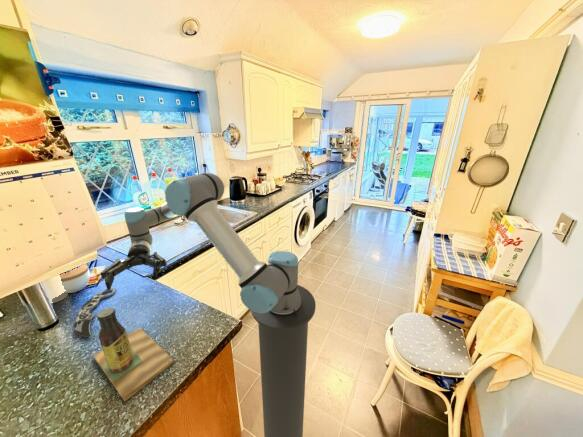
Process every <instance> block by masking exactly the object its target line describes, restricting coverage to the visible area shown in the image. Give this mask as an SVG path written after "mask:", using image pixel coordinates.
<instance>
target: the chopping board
mask: <svg viewBox="0 0 583 437" xmlns="http://www.w3.org/2000/svg"><path fill="white" fill-rule="evenodd" d="M127 336H128V340H129V343H130V346H131V350H132V353H133V361H132V363H131V364H130V366H129V367H128V368H126V369H125V370H123V371H121V372H117V373H114V372H111V371H110V368H109V367H108V365H107V362H106V359H105V356H104V353H103V350H102V349H101V350H100V351H98V352H97V353H95V354H94V355H93V358H94V360H95V362H96V363H97V365H98V366H99V367H100V369H101V370H102V372H103V373H104V375H105V376H106V378H107V379H108V380H109V382H110V383H111V384H112V386H113V388H114V389H115V390H116V392H117V393H118V395H119V397H121V399H122V400H123V402H126V401H128V400H129V399H131V398H132V397H133V396H134V395H135V394H137V393H138V392H140V390H142V389H143V388H144V387H146V386H147V385H148V384H149V383H151V382H152V381H153V380H154V379H155V378H157V377H158V376H159V375H160V374H162V373H163V372H164V371H165V370H167V369H168V368H169V367H171V366H172V365H173V364H174V359H173V358H172V357H171V356H170V355H169V354H168V353H167V352H166V351H165V350H164V349H163V348H162V347H161V346H160V345H159V344H158V343H157V342H156V341H155V340H154V339H153V338H152V337H151V336H150V335H149V334H147V333H146V331H145V330H144V329H143V328H141V327H138V328H136V329H135V330H133V331H131V332H130V333H128V334H127Z"/></svg>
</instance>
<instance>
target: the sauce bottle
mask: <svg viewBox="0 0 583 437" xmlns="http://www.w3.org/2000/svg"><path fill="white" fill-rule="evenodd" d="M96 319H97V321H99V324H100V330H99V333H98V339H99V343H100V347H101V351H102V350H103V353H104V356H105V359H106V362H107V365H108V367H109V368H110V371H111V372H114V373H117V372H121V371H123V370H125V369H126V368H128V367H129V366H130V364H131V363H132V361H133V353H132V350H131V346H130V343H129V340H128V336H127V335H128V334H127V330H126V328H125V327H124V326H123V325H122V324H121V323H120V322H119V321H118V319H117V315H116V310H115V308H114V307H106V308H103V309H101V310H99V311H98V312H97V314H96Z"/></svg>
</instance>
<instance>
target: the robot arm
mask: <svg viewBox="0 0 583 437" xmlns="http://www.w3.org/2000/svg"><path fill="white" fill-rule="evenodd" d="M224 194H225V185H224V182H223V180H222V179H221V178H220V177H219V175H218V176H217V175H216V174H214V173H212V172H202V173H197V174H194V175H188V176H183V177H178V178H176V179H173V180H170V181H169V183H167V185H166V187H165V190H164V198H165V202H163V203H162V204H160V205H158V206H155V207H152V208H148V209H144V208H143V207H133V208H129V209H127V210H125V212H124V221H125V223H126V226H127V230H128V233H129V238H130V241H131V244H130V246H129V249H128V252H127V256H126V258H125V259H121V258H116V259H115V261H114V262H112V263H111V264H110V265H108V266H107V267H106V268H104V269H103V270H102V271H100V272H99V273H100V276H101V280H104V282H105V283H104V284H105V287H106V289H107V290H109V289H111V288H112V286H113V283H114V280H115V277H116V276H118V275H120V274H121V273H123V272H124V271H126V270H131V268H133V267H137V266H142V265H144V266H148V267H153V270H152V274H153V279H154V280H157V279H158V274H159V273H160V272H161V271H162V267H165V268H166V267H167V260H166V258H164V257H162V256H161V255H159V254H158V252H157V251H153V253H152V254H151V249H152V244H153V235H152V234H151V232H150V227H153V226H155V225H158V224H161V223H163V222H166V221H168V220H172V219H174V218H175V217H179V216H180V217H182V216H184V217H185V218H186V219H187V221H188V222H191V223H195V224H196V225H197V226H198V227H199V229H200V230H201V231H202V232H203V234H204V235H205V236H206V238H207V239H208V240H209V242H210V243H211V244H212V246H214V248H215V250H217V252H218V253H219V254H220V255H221V257H222V258H223V259H224V261H225V262H226V263H227V264H228V266H229V267H230V268H231V269H232V271H233V272H234V273H235V274H236V276H237V278H238V281H237V285H238V286H239V287H240V289H241V290H240V293H239V296H240V300H241V302H242V304H243V305H244V306H245V307H246V308H247V309H248V310H250V311H251V310H252V311H254V312H257V313H267V312H270V313H272V314H274V315H278V316H288V315H292V314H294V313H295V315H297V313H296V312H297V311H298V310H299V309H300V307H301V296H300V294H299V291H298V288H297V285H299V280H298V279H299V258H298V256H297V255H296V254H294V253H293V252H291V251H288V250H287V251H286V250H277V251H273V252H271V253H269V255H268V257H267V262H268V263H266V262H265V261H260V260H258V258H257V257H256V256H255V255H254V253H253V252H252V251H251V249H250V248H249V247H248V245H246V243H245V241H243V239H242V238H241V237H240V236H239V234H238V233H237V232H236V230H235V229H234V228H233V227H232V225H231V224H230V223H229V221H228V220H227V219H226V218H225V216H224V215H223V214H222V213H221V211H220V210H219V209H218V201H220V200H221V199H222V197H223V196H224Z"/></svg>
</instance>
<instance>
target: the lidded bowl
mask: <svg viewBox="0 0 583 437" xmlns="http://www.w3.org/2000/svg"><path fill="white" fill-rule="evenodd" d="M83 264H84V265H82V266H80V267H78V268H75V269H73V270H71V271H68V272H66V273H63V274H61V275H60V277H61V281H62V285H63V286H64V289H65V290H66V291H67V292H66V293H69V294H71V293H76V292H80V291H82V290H83V289H84V288H86V286H87V285H88V283H89V282H90V280H91V279H90V278H91V273H90V269H89V266H88V264H86V263H83Z"/></svg>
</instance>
